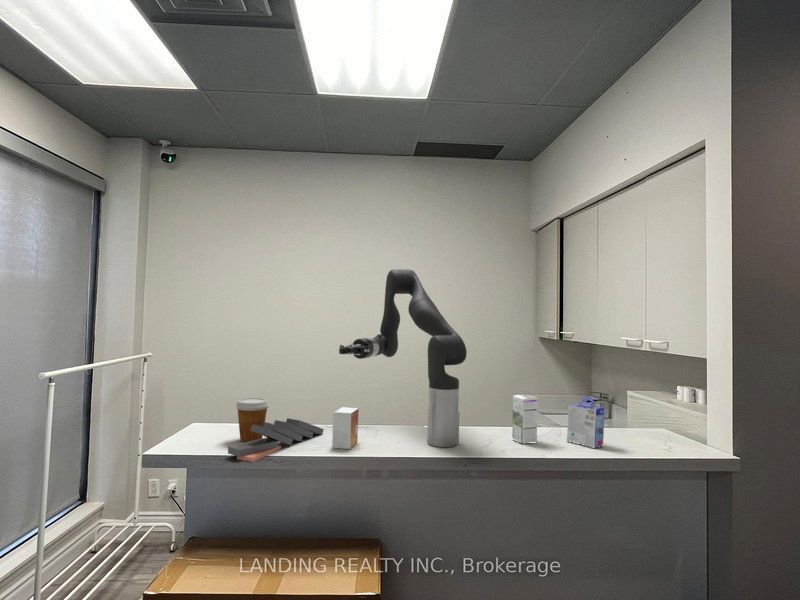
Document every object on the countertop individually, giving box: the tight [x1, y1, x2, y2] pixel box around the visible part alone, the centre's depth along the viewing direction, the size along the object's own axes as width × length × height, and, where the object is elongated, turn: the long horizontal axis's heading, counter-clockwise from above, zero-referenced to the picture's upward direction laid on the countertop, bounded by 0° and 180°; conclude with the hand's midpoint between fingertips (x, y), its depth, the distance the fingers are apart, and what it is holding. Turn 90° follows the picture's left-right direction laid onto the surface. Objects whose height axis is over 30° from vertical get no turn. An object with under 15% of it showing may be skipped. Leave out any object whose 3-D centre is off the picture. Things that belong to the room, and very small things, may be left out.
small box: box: [331, 406, 360, 450], centre depth 146 cm, size 8×6×10 cm
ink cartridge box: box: [566, 396, 605, 448], centre depth 156 cm, size 10×6×14 cm, turn 39°
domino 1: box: [250, 424, 294, 446], centre depth 140 cm, size 2×5×13 cm
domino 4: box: [263, 421, 304, 442], centre depth 144 cm, size 2×5×13 cm
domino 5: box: [273, 419, 314, 439], centre depth 149 cm, size 2×5×13 cm
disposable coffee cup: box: [235, 397, 270, 443], centre depth 148 cm, size 10×10×12 cm
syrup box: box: [512, 394, 538, 444], centre depth 157 cm, size 6×6×14 cm
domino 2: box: [227, 437, 280, 458], centre depth 135 cm, size 2×5×13 cm
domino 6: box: [285, 418, 324, 435], centre depth 154 cm, size 2×5×13 cm
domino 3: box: [236, 444, 282, 463], centre depth 135 cm, size 2×5×13 cm
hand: (341, 351), depth 171 cm, fingers closed
